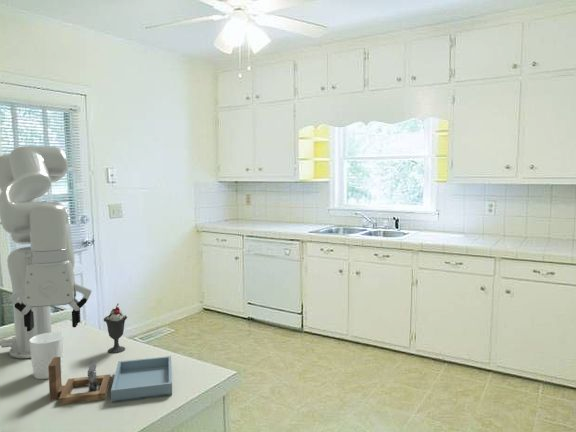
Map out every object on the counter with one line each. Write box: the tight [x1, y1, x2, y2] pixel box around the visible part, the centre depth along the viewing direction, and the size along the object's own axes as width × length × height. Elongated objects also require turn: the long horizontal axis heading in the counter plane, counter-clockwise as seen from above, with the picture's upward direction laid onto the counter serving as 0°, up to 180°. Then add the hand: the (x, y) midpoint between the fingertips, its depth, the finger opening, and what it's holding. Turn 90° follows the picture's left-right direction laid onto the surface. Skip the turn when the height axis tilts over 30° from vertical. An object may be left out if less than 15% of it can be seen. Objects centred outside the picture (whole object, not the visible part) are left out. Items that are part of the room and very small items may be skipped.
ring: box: [48, 357, 111, 406], centre depth 106 cm, size 12×10×8 cm
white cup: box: [29, 331, 64, 380], centre depth 116 cm, size 8×8×10 cm
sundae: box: [103, 303, 128, 354], centre depth 131 cm, size 7×7×15 cm
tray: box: [110, 355, 173, 403], centre depth 111 cm, size 14×16×3 cm
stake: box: [87, 361, 98, 392], centre depth 107 cm, size 2×5×6 cm, turn 16°
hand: (53, 327), depth 103 cm, fingers open, 9 cm apart
